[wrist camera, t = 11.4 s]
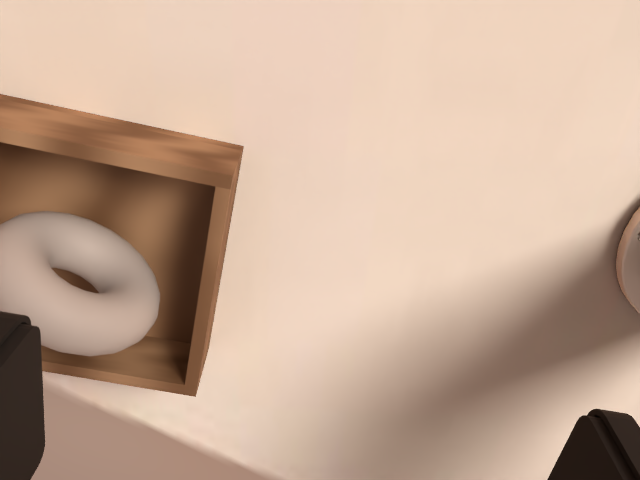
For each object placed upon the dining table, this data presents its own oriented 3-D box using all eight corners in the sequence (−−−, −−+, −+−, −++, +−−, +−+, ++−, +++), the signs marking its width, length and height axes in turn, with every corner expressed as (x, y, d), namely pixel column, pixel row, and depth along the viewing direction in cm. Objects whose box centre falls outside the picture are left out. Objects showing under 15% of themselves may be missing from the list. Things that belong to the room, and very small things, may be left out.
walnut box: (243, 146, 35) (232, 175, 31) (208, 348, 42) (195, 396, 38) (-24, 89, 34) (-76, 111, 29) (-15, 309, 41) (-56, 354, 36)
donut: (186, 261, 38) (146, 358, 29) (160, 297, 39) (113, 401, 30) (43, 175, 35) (-50, 254, 26) (19, 217, 36) (-77, 306, 28)
